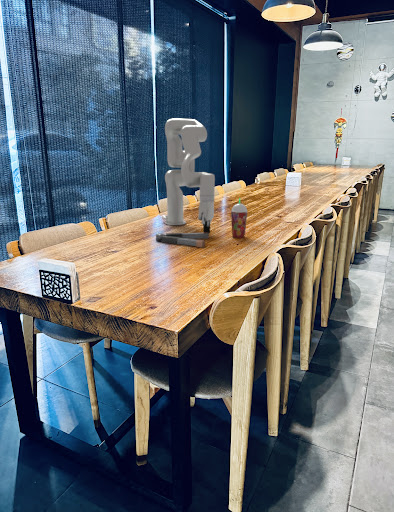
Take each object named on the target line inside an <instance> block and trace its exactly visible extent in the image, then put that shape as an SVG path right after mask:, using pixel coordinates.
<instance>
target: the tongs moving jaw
mask: <svg viewBox="0 0 394 512" xmlns="http://www.w3.org/2000/svg"><path fill="white" fill-rule="evenodd" d="M209 234H210V233H208V232H203V231H202V232H186V233H184V232H183V233H182V232H170V233H167V232H166V233H156V234H155V241H157V242H162V237H163V236H172V237H179V238H186V239H194V240H200V239H202V240H203V239H209V238H210V237H209V236H210V235H209Z"/></svg>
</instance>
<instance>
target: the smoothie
mask: <svg viewBox="0 0 394 512" xmlns="http://www.w3.org/2000/svg"><path fill="white" fill-rule="evenodd" d="M230 214H231V215H230V216H231V220H230V221H231V235H232V237H233V238H235V239H236V238H237V239H242V238H244V237H245V235H246V228H247V221H248V220H247V218H248V208H247V206H245V204H243V203H241V197H239V198H238V203H236V204H234V205H233V206H232V209H231V210H230Z"/></svg>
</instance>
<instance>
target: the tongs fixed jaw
mask: <svg viewBox="0 0 394 512" xmlns="http://www.w3.org/2000/svg"><path fill="white" fill-rule="evenodd" d="M161 243H164V244H172V245H183V246H192V247H197V248H204V247H205V246H206V240H203V239H186V238H179V237H172V236H163V237H162V241H161Z"/></svg>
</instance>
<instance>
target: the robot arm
mask: <svg viewBox="0 0 394 512" xmlns="http://www.w3.org/2000/svg"><path fill="white" fill-rule="evenodd" d="M164 125H165V126H164V133H165V137H166V142H167V145H166V146H167V147H166V148H167V152H166V153H167V164H168V166H169V167H170V168H180V169H171V170H167V172H166V173H165V175H164V181H165V186H166V187H165V188H166V204H167V205H166V207H167V211H166V212H167V215H162V220H165V221H164V224H165V225H167V226H168V225H169V226H182V225H183V226H184V225H185V224H187V221H186V220H184V192H183V190H182V188H180V187H185V186H186V187H187V188H199V205H198V217H197V219H198V221H199V222H200V221H201V222H200V223H201V225H202V230H203V231H202V232H208V233H209V234H211V223H212V221H213V219H214V217H215V205H214V203H215V181H216V178H215V174H213V173H208V172H205V171H201V172H200V171H198V172H197V171H195V166H196V165H195V163H196V162H195V161H196V160H195V159H197V158H199V157H200V156H201V155H202V149H201V145H200V143H202V142H203V143H204V142H205V141H206V140H207V137H208V132H207V129H206V127H205V126H204V125H203V124H202V123H200V122H199V121H198V120H196V119H192V118H177V117H176V118H170V119H168V120H167V121H166V122H165V124H164ZM179 135H180V136H179Z"/></svg>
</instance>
